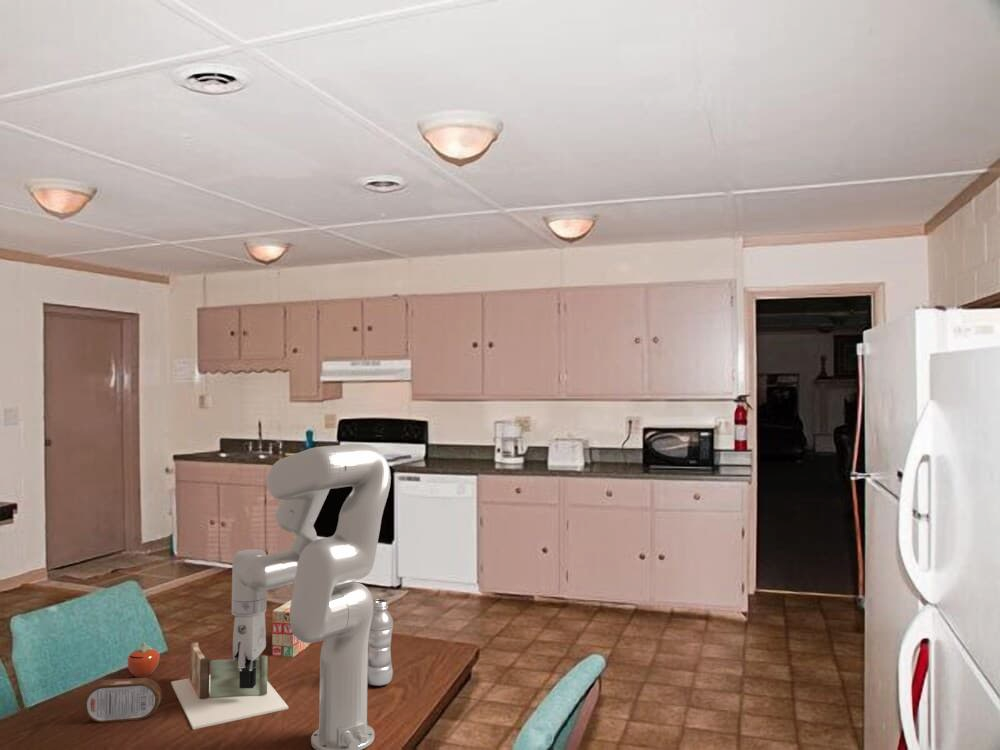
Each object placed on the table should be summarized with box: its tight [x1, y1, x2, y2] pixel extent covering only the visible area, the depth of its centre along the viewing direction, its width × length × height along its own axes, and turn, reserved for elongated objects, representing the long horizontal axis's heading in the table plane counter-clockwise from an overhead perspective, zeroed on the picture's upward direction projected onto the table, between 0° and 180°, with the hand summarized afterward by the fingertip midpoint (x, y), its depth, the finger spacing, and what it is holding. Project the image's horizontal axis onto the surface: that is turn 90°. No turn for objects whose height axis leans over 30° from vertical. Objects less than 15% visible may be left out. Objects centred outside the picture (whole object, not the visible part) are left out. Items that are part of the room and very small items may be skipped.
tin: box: [83, 677, 163, 723], centre depth 161 cm, size 15×3×8 cm, turn 102°
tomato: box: [126, 642, 161, 678], centre depth 186 cm, size 7×7×8 cm
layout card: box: [170, 674, 289, 730], centre depth 173 cm, size 29×20×1 cm
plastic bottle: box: [367, 598, 394, 687], centre depth 181 cm, size 6×7×20 cm
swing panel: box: [209, 655, 269, 697], centre depth 172 cm, size 12×2×8 cm, turn 99°
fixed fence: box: [189, 641, 211, 699], centre depth 177 cm, size 15×2×9 cm, turn 32°
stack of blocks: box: [271, 599, 312, 658], centre depth 210 cm, size 21×6×12 cm, turn 169°
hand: (247, 686), depth 169 cm, fingers closed
